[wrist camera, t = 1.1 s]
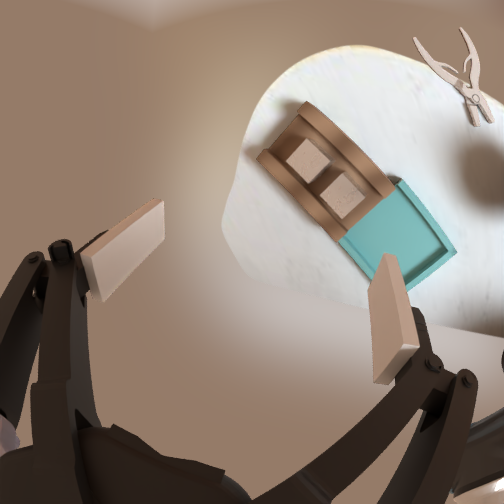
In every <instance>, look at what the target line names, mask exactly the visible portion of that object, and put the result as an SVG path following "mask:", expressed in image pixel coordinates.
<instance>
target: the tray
mask: <svg viewBox="0 0 504 504" xmlns="http://www.w3.org/2000/svg"><path fill="white" fill-rule="evenodd" d="M395 188H396V189H395V190H394V191H393V192H392V193H391V194H390V195H389V196H388V197H387V198H386V199H383V200H382V201H380V202H379V203H378V204H377V205H376V206H375V207H374V208H373V209H372V210H371V211H369V212H368V213H367V214H366V215H365V216H364V217H363V218H362V219H361V220H359V221H358V222H357V223H356V224H355V225H354V226H353V227H352V228H350V229H349V230H348V232H347V234H346V235H344V236H343V237H342V238H341V239H340V240H339V241H338V242H339V243H340V245H341V246H342V247H343V248H344V249H345V250H346V251H347V252H348V254H349V255H350V256H351V257H352V258H353V259H354V261H355V262H356V263H357V264H358V265H359V266H360V268H361V269H362V270H363V271H364V272H365V273H366V275H367V276H368V277H369V278H370V279H371V281H372V279H373V277H374V275H375V273H376V270H377V268H378V266H379V263H380V261H381V258H382V256H383V254H384V252H385V253H388V254H392V255H395V256H396V257H397V261H398V264H399V267H400V270H401V273H402V277H403V280H404V283H405V287H406V290H407V292H408V291H409V290H410V289H412V288H413V287H415V286H416V285H417V284H419V283H420V282H421V281H423V280H424V279H425V278H426V277H428V276H429V275H430V274H432V273H433V272H434V271H435V270H437V269H438V268H439V267H440V266H442V265H443V264H444V263H445V262H447V261H448V260H449V259H450V258H451V257H453V256H454V255H455V254H456V253H457V251H456V250H455V248H454V247H453V245H452V244H451V242H450V241H449V239H448V238H447V236H446V235H445V233H444V232H443V230H442V229H441V228H440V226H439V225H438V223H437V222H436V221H435V219H434V218H433V217H432V215H431V214H430V213H429V211H428V210H427V209H426V207H425V206H424V205H423V204H422V202H421V201H420V200H419V199H418V197H417V196H416V195H415V194H414V192H413V191H412V190H411V189H410V188H409V186H408V185H407V184H406V183H405V182H404V180H403V179H401V180H400V181H398V182H397V183H396V184H395Z"/></svg>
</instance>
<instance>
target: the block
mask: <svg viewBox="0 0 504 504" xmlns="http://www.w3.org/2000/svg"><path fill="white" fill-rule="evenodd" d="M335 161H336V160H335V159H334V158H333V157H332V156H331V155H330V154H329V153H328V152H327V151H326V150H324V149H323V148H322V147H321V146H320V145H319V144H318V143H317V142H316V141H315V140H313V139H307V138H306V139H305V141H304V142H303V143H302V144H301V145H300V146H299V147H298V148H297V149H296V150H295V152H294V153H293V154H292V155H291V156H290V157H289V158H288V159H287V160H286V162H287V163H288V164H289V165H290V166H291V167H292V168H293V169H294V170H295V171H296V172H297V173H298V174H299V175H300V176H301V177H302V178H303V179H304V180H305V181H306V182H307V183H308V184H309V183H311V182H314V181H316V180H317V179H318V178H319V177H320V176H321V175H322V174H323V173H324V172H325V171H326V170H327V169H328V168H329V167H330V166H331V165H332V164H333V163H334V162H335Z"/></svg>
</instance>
